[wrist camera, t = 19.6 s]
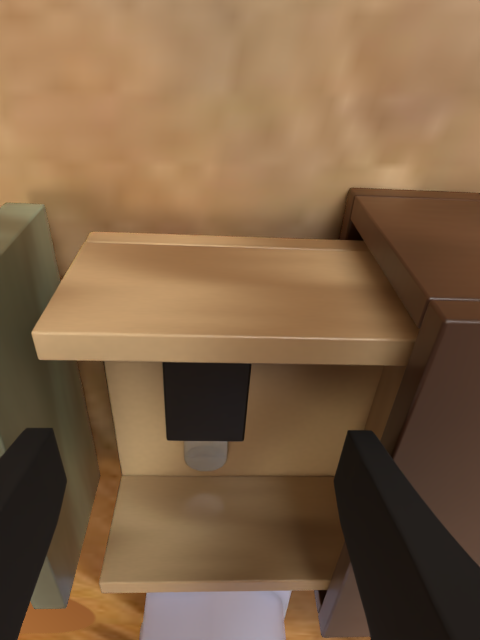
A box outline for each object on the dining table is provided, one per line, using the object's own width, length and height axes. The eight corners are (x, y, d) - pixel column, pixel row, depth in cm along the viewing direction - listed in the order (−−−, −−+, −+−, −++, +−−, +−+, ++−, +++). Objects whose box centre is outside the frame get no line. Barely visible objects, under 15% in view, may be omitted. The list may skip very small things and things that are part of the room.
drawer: (-54, 474, 21) (-134, 612, 16) (-202, 194, 13) (-441, 299, 8) (353, 475, 22) (390, 604, 17) (437, 218, 14) (545, 322, 10)
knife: (172, 287, 14) (160, 350, 11) (247, 289, 14) (253, 352, 12) (177, 463, 19) (171, 535, 17) (233, 464, 19) (235, 535, 17)
